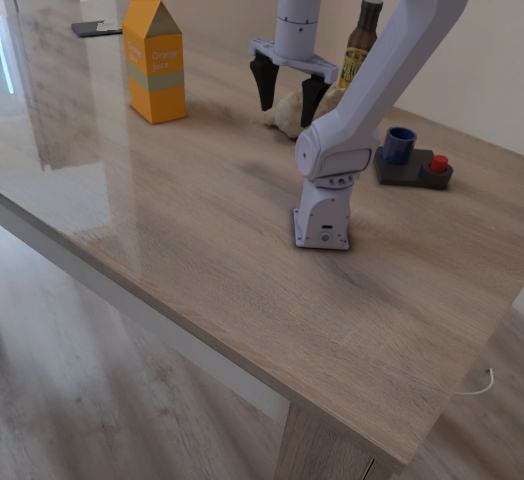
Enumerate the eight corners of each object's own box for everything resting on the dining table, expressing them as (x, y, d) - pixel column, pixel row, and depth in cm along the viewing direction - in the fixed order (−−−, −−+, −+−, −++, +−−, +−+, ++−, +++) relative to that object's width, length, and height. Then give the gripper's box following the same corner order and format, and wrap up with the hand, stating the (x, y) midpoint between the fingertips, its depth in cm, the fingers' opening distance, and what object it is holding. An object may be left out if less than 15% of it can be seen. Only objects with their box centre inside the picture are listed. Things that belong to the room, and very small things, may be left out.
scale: (450, 192, 85) (456, 176, 83) (380, 187, 84) (385, 171, 82) (433, 156, 93) (439, 141, 91) (369, 151, 93) (373, 136, 90)
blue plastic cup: (410, 166, 88) (418, 142, 84) (381, 162, 88) (388, 138, 84) (407, 152, 91) (415, 128, 88) (379, 148, 91) (386, 125, 88)
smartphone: (69, 23, 122) (126, 17, 127) (70, 27, 123) (127, 22, 128) (78, 33, 118) (136, 27, 123) (79, 37, 119) (137, 31, 124)
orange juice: (151, 124, 93) (139, 1, 77) (131, 106, 97) (115, -15, 82) (186, 116, 96) (181, -4, 81) (165, 99, 100) (156, -18, 85)
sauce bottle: (329, 109, 103) (350, -2, 88) (338, 98, 107) (359, -9, 92) (358, 116, 102) (383, 6, 87) (366, 106, 106) (391, -2, 91)
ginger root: (257, 151, 93) (319, 119, 83) (248, 112, 92) (309, 75, 82) (303, 151, 104) (362, 123, 94) (294, 116, 103) (354, 85, 93)
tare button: (445, 173, 84) (450, 162, 82) (431, 172, 84) (435, 161, 82) (442, 166, 86) (446, 155, 84) (428, 164, 86) (432, 154, 84)
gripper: (238, 8, 66) (234, 109, 76) (327, 38, 61) (310, 142, 71) (268, -1, 70) (261, 96, 80) (354, 27, 65) (334, 126, 75)
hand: (286, 117), depth 76 cm, fingers open, 7 cm apart
